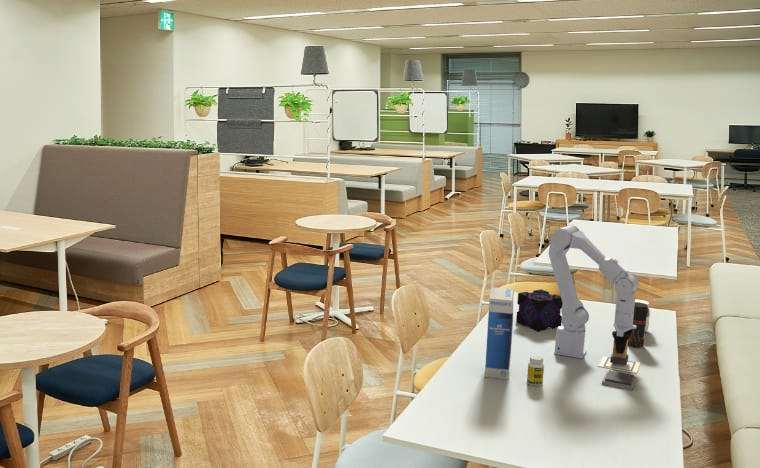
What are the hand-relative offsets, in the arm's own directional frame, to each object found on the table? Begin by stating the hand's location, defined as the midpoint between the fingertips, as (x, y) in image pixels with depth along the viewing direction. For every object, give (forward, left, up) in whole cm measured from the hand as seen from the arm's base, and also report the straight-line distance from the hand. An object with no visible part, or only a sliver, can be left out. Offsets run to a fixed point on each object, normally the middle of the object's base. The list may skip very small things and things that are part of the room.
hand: (620, 351), depth 237 cm
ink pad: (+2, -15, -5) cm, 16 cm away
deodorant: (+2, +23, -5) cm, 24 cm away
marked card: (0, 0, -5) cm, 5 cm away
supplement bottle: (-21, -29, -5) cm, 36 cm away
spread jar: (-1, +40, -5) cm, 40 cm away
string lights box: (-34, -25, -5) cm, 42 cm away
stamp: (0, 0, -4) cm, 4 cm away
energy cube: (-34, +28, -5) cm, 44 cm away
